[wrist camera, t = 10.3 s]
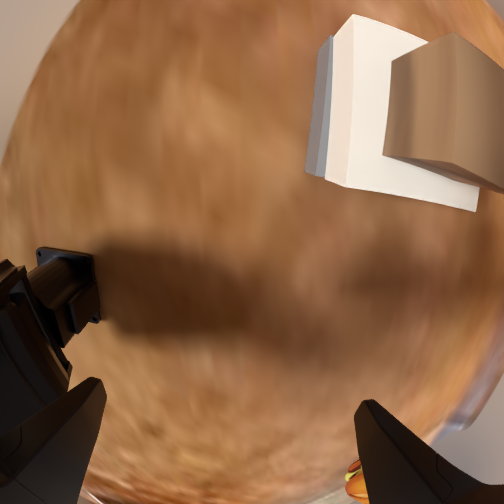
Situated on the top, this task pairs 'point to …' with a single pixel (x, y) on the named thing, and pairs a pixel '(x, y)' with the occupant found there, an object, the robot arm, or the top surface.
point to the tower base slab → (321, 112)
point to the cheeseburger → (356, 483)
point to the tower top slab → (376, 119)
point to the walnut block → (448, 112)
